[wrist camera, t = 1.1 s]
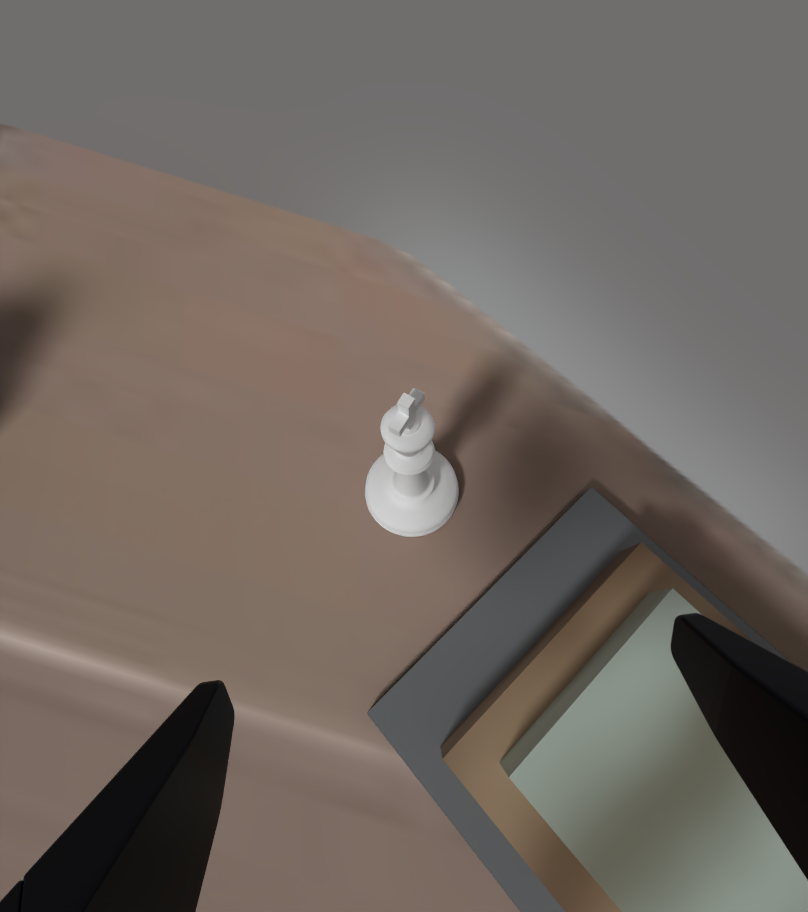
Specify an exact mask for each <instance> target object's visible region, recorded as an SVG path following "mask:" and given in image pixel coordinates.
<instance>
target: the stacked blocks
mask: <svg viewBox="0 0 808 912" xmlns="http://www.w3.org/2000/svg"><path fill="white" fill-rule="evenodd" d="M691 613H698V614H701V615H703V616H705V617H707V618H709V619H711V620H713V621H715V622H716V623H718V624H720V625H722V626H724V627H726V628H728V629H729V630H731V631H733V632H735V633H737V634H739V635H740V636H742V637H744V638H746V639H748V640H750V641H752V640H751V639H750V638H748V637H747V636H746V635H745V634H744V633H743V632H742V631H741V630H739V629H738V628H737V627H736V626H735V625H734V624H733V623H732V622H730V621H729V620H728V619H727V618H726V617H725V616H724V615H723V614H721V613H720V612H719V611H718V610H717V609H716V608H715V607H714V606H712V605H711V604H710V603H709V602H708V601H707V600H706V599H705V598H703V597H702V596H701V595H700V594H699V593H698V592H697V591H696V590H694V589H693V588H692V587H691V586H690V585H689V584H688V583H687V582H685V581H684V580H683V579H682V578H681V577H680V576H679V575H678V574H676V573H675V572H674V571H673V570H672V569H671V568H670V567H669V566H667V565H666V564H665V563H664V562H663V561H662V560H661V559H660V558H658V557H657V556H656V555H655V554H654V553H653V552H652V551H651V550H649V549H648V548H647V547H646V546H645V545H644V544H643V543H642V542H641V543H638V544H636V545H634V546H631V547H629V548H627V549H624V550H622V551H620V553H619V554H618V555H617V556H616V557H615V558H614V559H613V560H612V561H611V562H610V563H609V564H608V566H607V567H606V568H605V569H604V570H603V571H602V572H601V573H600V574H599V575H598V576H597V577H596V578H595V580H594V581H593V582H592V583H591V584H590V585H589V586H588V587H587V588H586V589H585V590H584V591H583V592H582V594H581V595H580V596H579V597H578V598H577V599H576V600H575V601H574V602H573V603H572V604H571V605H570V607H569V608H568V609H567V610H566V611H565V612H564V613H563V614H562V615H561V616H560V617H559V618H558V619H557V621H556V622H555V623H554V624H553V625H552V626H551V627H550V628H549V629H548V630H547V631H546V632H545V634H544V635H543V636H542V637H541V638H540V639H539V640H538V641H537V642H536V643H535V644H534V645H533V646H532V648H531V649H530V650H529V651H528V652H527V653H526V654H525V655H524V656H523V657H522V658H521V659H520V661H519V662H518V663H517V664H516V665H515V666H514V667H513V668H512V669H511V670H510V671H509V672H508V673H507V675H506V676H505V677H504V678H503V679H502V680H501V681H500V682H499V683H498V684H497V685H496V686H495V687H494V689H493V690H492V691H491V692H490V693H489V694H488V695H487V696H486V697H485V698H484V699H483V700H482V702H481V703H480V704H479V705H478V706H477V707H476V708H475V709H474V710H473V711H472V712H471V713H470V714H469V716H468V717H467V718H466V719H465V720H464V721H463V722H462V723H461V724H460V725H459V726H458V727H457V729H456V730H455V731H454V732H453V733H452V734H451V735H450V736H449V737H448V738H447V739H446V740H445V741H444V743H443V744H442V745H441V746H440V748H441V753H442V759H443V760H444V761H445V763H446V764H447V765H448V766H449V768H450V769H451V770H452V771H453V773H454V774H455V775H456V776H457V778H458V779H459V780H460V781H461V783H462V784H463V785H464V786H465V788H466V789H467V790H468V791H469V793H470V794H471V795H472V796H473V798H474V799H475V800H476V801H477V802H478V804H479V805H480V806H481V807H482V809H483V810H484V811H485V812H486V814H487V815H488V816H489V817H490V819H491V820H492V821H493V822H494V824H495V825H496V826H497V827H498V829H499V830H500V831H501V832H502V834H503V835H504V836H505V837H506V839H507V840H508V841H509V842H510V844H511V845H512V846H513V847H514V849H515V850H516V851H517V852H518V853H519V855H520V856H521V857H522V858H523V860H524V861H525V862H526V863H527V865H528V866H529V867H530V868H531V870H532V871H533V872H534V873H535V875H536V876H537V877H538V878H539V880H540V881H541V882H542V883H543V885H544V886H545V887H546V888H547V890H548V891H549V892H550V893H551V895H552V896H553V897H554V898H555V900H556V901H557V902H558V903H559V904H560V906H561V907H562V908H563V909H564V911H565V912H808V880H807V879H806V877H805V875H804V874H803V872H802V871H801V869H800V868H799V866H798V865H797V863H796V862H795V860H794V858H793V857H792V855H791V854H790V852H789V851H788V849H787V848H786V846H785V845H784V843H783V842H782V840H781V838H780V837H779V835H778V834H777V832H776V831H775V829H774V828H773V826H772V825H771V823H770V821H769V820H768V818H767V817H766V815H765V814H764V812H763V811H762V809H761V808H760V806H759V804H758V803H757V801H756V800H755V798H754V797H753V795H752V794H751V792H750V791H749V789H748V788H747V786H746V784H745V783H744V781H743V780H742V778H741V777H740V775H739V774H738V772H737V771H736V769H735V767H734V766H733V764H732V763H731V761H730V760H729V758H728V757H727V755H726V754H725V752H724V750H723V749H722V747H721V746H720V744H719V742H718V741H717V739H716V738H715V736H714V734H713V732H712V731H711V729H710V727H709V725H708V723H707V722H706V720H705V718H704V716H703V714H702V712H701V710H700V708H699V706H698V704H697V703H696V701H695V699H694V697H693V695H692V693H691V691H690V689H689V687H688V685H687V683H686V682H685V680H684V678H683V676H682V674H681V672H680V670H679V668H678V666H677V664H676V663H675V661H674V659H673V656H672V653H671V638H672V632H673V625H674V620H675V618H676V617H677V616H678V615H683V614H691ZM752 642H753V641H752ZM753 643H754V642H753Z"/></svg>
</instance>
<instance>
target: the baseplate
mask: <svg viewBox="0 0 808 912" xmlns="http://www.w3.org/2000/svg"><path fill="white" fill-rule="evenodd" d="M641 542H642V543H643V544H644V545H645V546H646V547H647V548H648V549H649V550H651V551H652V552H653V553H654V554H655V555H656V556H657V557H658V558H660V559H661V560H662V561H663V562H664V563H665V564H666V565H667V566H669V567H670V568H671V569H672V570H673V571H674V572H675V573H676V574H678V575H679V576H680V577H681V578H682V579H683V580H684V581H685V582H687V583H688V584H689V585H690V586H691V587H692V588H693V589H694V590H696V591H697V592H698V593H699V594H700V595H701V596H702V597H703V598H705V599H706V600H707V601H708V602H709V603H710V604H711V605H712V606H714V607H715V608H716V609H717V610H718V611H719V612H720V613H721V614H723V615H724V616H725V617H726V618H727V619H728V620H729V621H730V622H732V623H733V624H734V625H735V626H736V627H737V628H738V629H739V630H741V631H742V632H743V633H744V634H745V635H746V636H747V637H748V638H750V639H751V640H752V641H753V642H754V643H755V644H757V645H759V646H761V647H763V648H765V649H766V650H768V651H770V652H772V653H774V654H776V655H777V656H779V657H781V658H783V659H785V660H787V661H789V660H788V659H787V658H785V657H784V656H783V655H782V654H781V653H780V652H779V651H778V650H776V649H775V648H774V647H773V646H772V645H771V644H770V643H768V642H767V641H766V640H765V639H764V638H763V637H762V636H760V635H759V634H758V633H757V632H756V631H755V630H754V629H753V628H751V627H750V626H749V625H748V624H747V623H746V622H745V621H743V620H742V619H741V618H740V617H739V616H738V615H737V614H735V613H734V612H733V611H732V610H731V609H730V608H729V607H728V606H726V605H725V604H724V603H723V602H722V601H721V600H720V599H718V598H717V597H716V596H715V595H714V594H713V593H712V592H710V591H709V590H708V589H707V588H706V587H705V586H704V585H703V584H701V583H700V582H699V581H698V580H697V579H696V578H695V577H693V576H692V575H691V574H690V573H689V572H688V571H687V570H686V569H684V568H683V567H682V566H681V565H680V564H679V563H678V562H676V561H675V560H674V559H673V558H672V557H671V556H670V555H668V554H667V553H666V552H665V551H664V550H663V549H662V548H661V547H659V546H658V545H657V544H656V543H655V542H654V541H653V540H651V539H650V538H649V537H648V536H647V535H646V534H645V533H643V532H642V531H641V530H640V529H639V528H638V527H637V526H636V525H634V524H633V523H632V522H631V521H630V520H629V519H628V518H626V517H625V516H624V515H623V514H622V513H621V512H620V511H618V510H617V509H616V508H615V507H614V506H613V505H612V504H611V503H609V502H608V501H607V500H606V499H605V498H604V497H603V496H601V495H600V494H599V493H598V492H597V491H596V490H595V489H593V488H592V487H591V488H590V489H588V490H587V491H586V492H585V493H584V494H583V495H582V496H581V497H580V498H579V499H578V500H577V501H576V502H575V503H574V504H573V505H572V506H571V507H570V508H569V509H568V510H567V511H566V512H565V513H564V514H563V515H562V516H561V517H560V518H559V519H558V520H557V521H556V522H555V523H554V524H553V525H552V526H551V527H550V528H549V529H548V530H547V531H546V532H545V533H544V534H543V535H542V536H541V538H540V539H539V540H538V541H537V542H536V543H535V544H534V545H533V546H532V547H531V548H530V549H529V550H528V551H527V552H526V553H525V554H524V555H523V556H522V557H521V558H520V559H519V560H518V561H517V562H516V563H515V564H514V565H513V566H512V567H511V568H510V569H509V570H508V571H507V572H506V573H505V574H504V575H503V576H502V577H501V578H500V579H499V580H498V581H497V582H496V583H495V584H494V585H493V586H492V587H491V588H490V589H489V590H488V591H487V592H486V593H485V594H484V595H483V596H482V597H481V598H480V599H479V600H478V601H477V602H476V603H475V604H474V605H473V606H472V607H471V608H470V609H469V610H468V611H467V612H466V613H465V614H464V615H463V616H462V617H461V618H460V619H459V620H458V621H457V622H456V623H455V624H454V625H453V626H452V627H451V628H450V629H449V630H448V631H447V632H446V633H445V634H444V635H443V636H442V637H441V638H440V639H439V640H438V641H437V642H436V643H435V644H434V645H433V646H432V647H431V648H430V649H429V650H428V651H427V652H426V653H425V654H424V655H423V656H422V657H421V658H420V659H419V660H418V661H417V662H416V663H415V664H414V665H413V666H412V668H411V669H410V670H409V671H408V672H407V673H406V674H405V675H404V676H403V677H402V678H401V679H400V680H399V681H398V682H397V683H396V684H395V685H394V686H393V687H392V688H391V689H390V690H389V691H388V692H387V693H386V694H385V695H384V696H383V697H382V698H381V699H380V700H379V701H378V702H377V703H376V704H375V705H374V706H373V707H372V708H371V709H370V710H369V711H368V712H367V714H368V715H369V717H370V718H371V719H372V721H373V722H374V723H375V724H376V726H377V727H378V728H379V730H380V731H381V732H382V734H383V735H384V736H385V737H386V739H387V740H388V741H389V743H390V744H391V745H392V746H393V748H394V749H395V750H396V752H397V753H398V754H399V755H400V757H401V758H402V759H403V761H404V762H405V763H406V764H407V766H408V767H409V768H410V770H411V771H412V772H413V774H414V775H415V776H416V777H417V779H418V780H419V781H420V783H421V784H422V785H423V786H424V788H425V789H426V790H427V792H428V793H429V794H430V795H431V797H432V798H433V799H434V801H435V802H436V803H437V804H438V806H439V807H440V808H441V810H442V811H443V812H444V814H445V815H446V816H447V817H448V819H449V820H450V821H451V823H452V824H453V825H454V826H455V828H456V829H457V830H458V832H459V833H460V834H461V835H462V837H463V838H464V839H465V841H466V842H467V843H468V845H469V846H470V847H471V848H472V850H473V851H474V852H475V854H476V855H477V856H478V857H479V859H480V860H481V861H482V863H483V864H484V865H485V866H486V868H487V869H488V870H489V872H490V873H491V874H492V875H493V877H494V878H495V879H496V881H497V882H498V883H499V885H500V886H501V887H502V888H503V890H504V891H505V892H506V894H507V895H508V896H509V897H510V899H511V900H512V901H513V903H514V904H515V905H516V906H517V908H518V909H519V910H520V912H565V911H564V909H563V908H562V907H561V906H560V904H559V903H558V902H557V901H556V900H555V898H554V897H553V896H552V895H551V893H550V892H549V891H548V890H547V888H546V887H545V886H544V885H543V883H542V882H541V881H540V880H539V878H538V877H537V876H536V875H535V873H534V872H533V871H532V870H531V868H530V867H529V866H528V865H527V863H526V862H525V861H524V860H523V858H522V857H521V856H520V855H519V853H518V852H517V851H516V850H515V849H514V847H513V846H512V845H511V844H510V842H509V841H508V840H507V839H506V837H505V836H504V835H503V834H502V832H501V831H500V830H499V829H498V827H497V826H496V825H495V824H494V822H493V821H492V820H491V819H490V817H489V816H488V815H487V814H486V812H485V811H484V810H483V809H482V807H481V806H480V805H479V804H478V802H477V801H476V800H475V799H474V798H473V796H472V795H471V794H470V793H469V791H468V790H467V789H466V788H465V786H464V785H463V784H462V783H461V781H460V780H459V779H458V778H457V776H456V775H455V774H454V773H453V771H452V770H451V769H450V768H449V766H448V765H447V764H446V763H445V761H444V760H443V759H442V753H441V748H440V746H441V745H442V744H443V743H444V741H445V740H446V739H447V738H448V737H449V736H450V735H451V734H452V733H453V732H454V731H455V730H456V729H457V727H458V726H459V725H460V724H461V723H462V722H463V721H464V720H465V719H466V718H467V717H468V716H469V714H470V713H471V712H472V711H473V710H474V709H475V708H476V707H477V706H478V705H479V704H480V703H481V702H482V700H483V699H484V698H485V697H486V696H487V695H488V694H489V693H490V692H491V691H492V690H493V689H494V687H495V686H496V685H497V684H498V683H499V682H500V681H501V680H502V679H503V678H504V677H505V676H506V675H507V673H508V672H509V671H510V670H511V669H512V668H513V667H514V666H515V665H516V664H517V663H518V662H519V661H520V659H521V658H522V657H523V656H524V655H525V654H526V653H527V652H528V651H529V650H530V649H531V648H532V646H533V645H534V644H535V643H536V642H537V641H538V640H539V639H540V638H541V637H542V636H543V635H544V634H545V632H546V631H547V630H548V629H549V628H550V627H551V626H552V625H553V624H554V623H555V622H556V621H557V619H558V618H559V617H560V616H561V615H562V614H563V613H564V612H565V611H566V610H567V609H568V608H569V607H570V605H571V604H572V603H573V602H574V601H575V600H576V599H577V598H578V597H579V596H580V595H581V594H582V592H583V591H584V590H585V589H586V588H587V587H588V586H589V585H590V584H591V583H592V582H593V581H594V580H595V578H596V577H597V576H598V575H599V574H600V573H601V572H602V571H603V570H604V569H605V568H606V567H607V566H608V564H609V563H610V562H611V561H612V560H613V559H614V558H615V557H616V556H617V555H618V554H619V553H620V551H622V550H624V549H627V548H629V547H631V546H634V545H636V544H638V543H641ZM789 662H790V661H789ZM790 663H791V662H790Z"/></svg>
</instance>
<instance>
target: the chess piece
mask: <svg viewBox="0 0 808 912" xmlns="http://www.w3.org/2000/svg"><path fill="white" fill-rule="evenodd" d="M424 398H425V393H423V392H421V391H419V390H417V389H415V388H413V389H412V391H411V392H410V394H409V395H408V394H406V393H403V395H402V396H401V398H400V399H399V401H398V402H397V405H395V406H393V407H392V408H390V409H389V410H388V411H387V412H386V413H385V415H384V416H383V418H382V421H381V427H380V429H381V435H382V438H383V440H384V441H385V446H384V454H382V455H381V456H380V457H379V458H378V459H377V460H376V461H375V462H374V464H373V465H372V467H371V469H370V471H369V473H368V476H367V479H366V486H365V498H366V503H367V506H368V509H369V511H370V513H371V515H372V516H373V518H374V519H375V520H376V521H377V522H378V523H379V524H380V525H381V526H382V527H383V528H385V529H386V530H388V531H390V532H392V533H394V534H397V535H401V536H407V537H416V536H423V535H426V534H429V533H432V532H434V531H436V530H437V529H439V528H440V527H442V526H443V525H444V524H445V523H446V522H447V521H448V520H449V518H450V517H451V516H452V514H453V512H454V510H455V508H456V505H457V502H458V496H459V487H458V481H457V477H456V474H455V472H454V469H453V468H452V466H451V464H450V463H449V462H448V460H447V459H446V458H445V457H444V456H443V455H441V454H440V453H439V452H437V451H436V450H435V448H434V444H433V442H432V438H433V436H434V432H435V423H434V419H433V417H432V415H431V414H430V412H429V411H428V410H427V409H425V408H424V407H423V406H421V404H422V402H423V401H424Z"/></svg>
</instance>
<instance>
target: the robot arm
mask: <svg viewBox="0 0 808 912" xmlns="http://www.w3.org/2000/svg"><path fill="white" fill-rule="evenodd" d="M671 653H672V656H673V659H674V661H675V663H676V664H677V666H678V668H679V670H680V672H681V674H682V676H683V678H684V680H685V682H686V683H687V685H688V687H689V689H690V691H691V693H692V695H693V697H694V699H695V701H696V703H697V704H698V706H699V708H700V710H701V712H702V714H703V716H704V718H705V720H706V722H707V723H708V725H709V727H710V729H711V731H712V732H713V734H714V736H715V738H716V739H717V741H718V742H719V744H720V746H721V747H722V749H723V750H724V752H725V754H726V755H727V757H728V758H729V760H730V761H731V763H732V764H733V766H734V767H735V769H736V771H737V772H738V774H739V775H740V777H741V778H742V780H743V781H744V783H745V784H746V786H747V788H748V789H749V791H750V792H751V794H752V795H753V797H754V798H755V800H756V801H757V803H758V804H759V806H760V808H761V809H762V811H763V812H764V814H765V815H766V817H767V818H768V820H769V821H770V823H771V825H772V826H773V828H774V829H775V831H776V832H777V834H778V835H779V837H780V838H781V840H782V842H783V843H784V845H785V846H786V848H787V849H788V851H789V852H790V854H791V855H792V857H793V858H794V860H795V862H796V863H797V865H798V866H799V868H800V869H801V871H802V872H803V874H804V875H805V877H806V879H807V880H808V672H807V671H805V670H803V669H802V668H800V667H798V666H796V665H794V664H792V663H790V662H789V661H787V660H785V659H783V658H781V657H779V656H777V655H776V654H774V653H772V652H770V651H768V650H766V649H765V648H763V647H761V646H759V645H757V644H755V643H753V642H752V641H750V640H748V639H746V638H744V637H742V636H740V635H739V634H737V633H735V632H733V631H731V630H729V629H728V628H726V627H724V626H722V625H720V624H718V623H716V622H715V621H713V620H711V619H709V618H707V617H705V616H703V615H701V614H698V613H691V614H683V615H678V616H677V617H676V618H675V620H674V625H673V632H672V638H671ZM233 726H234V709H233V705H232V703H231V700H230V698H229V695H228V692H227V690H226V687H225V685H224V683H223V682H222V681H221V680H216V681H209V682H203V683H200V684H199V685H197V686H196V687H195V689H194V690H193V691H192V692H191V693H190V694H189V695H188V696H187V697H186V698H185V699H184V701H183V702H182V703H181V704H180V705H179V706H178V707H177V708H176V709H175V710H174V712H173V713H172V714H171V715H170V716H169V717H168V718H167V719H166V720H165V721H164V723H163V724H162V725H161V726H160V727H159V728H158V729H157V730H156V731H155V732H154V734H153V735H152V736H151V737H150V738H149V739H148V740H147V741H146V742H145V743H144V745H143V746H142V747H141V748H140V749H139V750H138V751H137V752H136V753H135V754H134V756H133V757H132V758H131V759H130V760H129V761H128V762H127V763H126V764H125V765H124V767H123V768H122V769H121V770H120V771H119V772H118V773H117V774H116V775H115V776H114V778H113V779H112V780H111V781H110V782H109V783H108V784H107V785H106V786H105V787H104V788H103V790H102V791H101V792H100V793H99V794H98V795H97V796H96V797H95V798H94V799H93V801H92V802H91V803H90V804H89V805H88V806H87V807H86V808H85V809H84V810H83V812H82V813H81V814H80V815H79V816H78V817H77V818H76V819H75V820H74V821H73V823H72V824H71V825H70V826H69V827H68V828H67V829H66V830H65V831H64V832H63V834H62V835H61V836H60V837H59V838H58V839H57V840H56V841H55V842H54V843H53V845H52V846H51V847H50V848H49V849H48V850H47V851H46V852H45V853H44V854H43V856H42V857H41V858H40V859H39V860H38V861H37V862H36V863H35V864H34V865H33V866H32V868H31V869H30V870H29V871H28V872H27V873H26V874H25V876H24V879H23V880H21V881H19V882H18V883H17V884H16V885H15V886H14V887H13V888H12V889H11V890H10V892H9V893H8V894H7V895H6V896H5V897H4V898H3V899H2V900H1V901H0V912H195V911H196V907H197V903H198V899H199V895H200V891H201V887H202V883H203V879H204V875H205V871H206V867H207V863H208V859H209V855H210V851H211V847H212V843H213V839H214V835H215V831H216V827H217V823H218V818H219V814H220V810H221V804H222V798H223V793H224V786H225V779H226V772H227V766H228V759H229V752H230V746H231V739H232V732H233Z"/></svg>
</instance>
